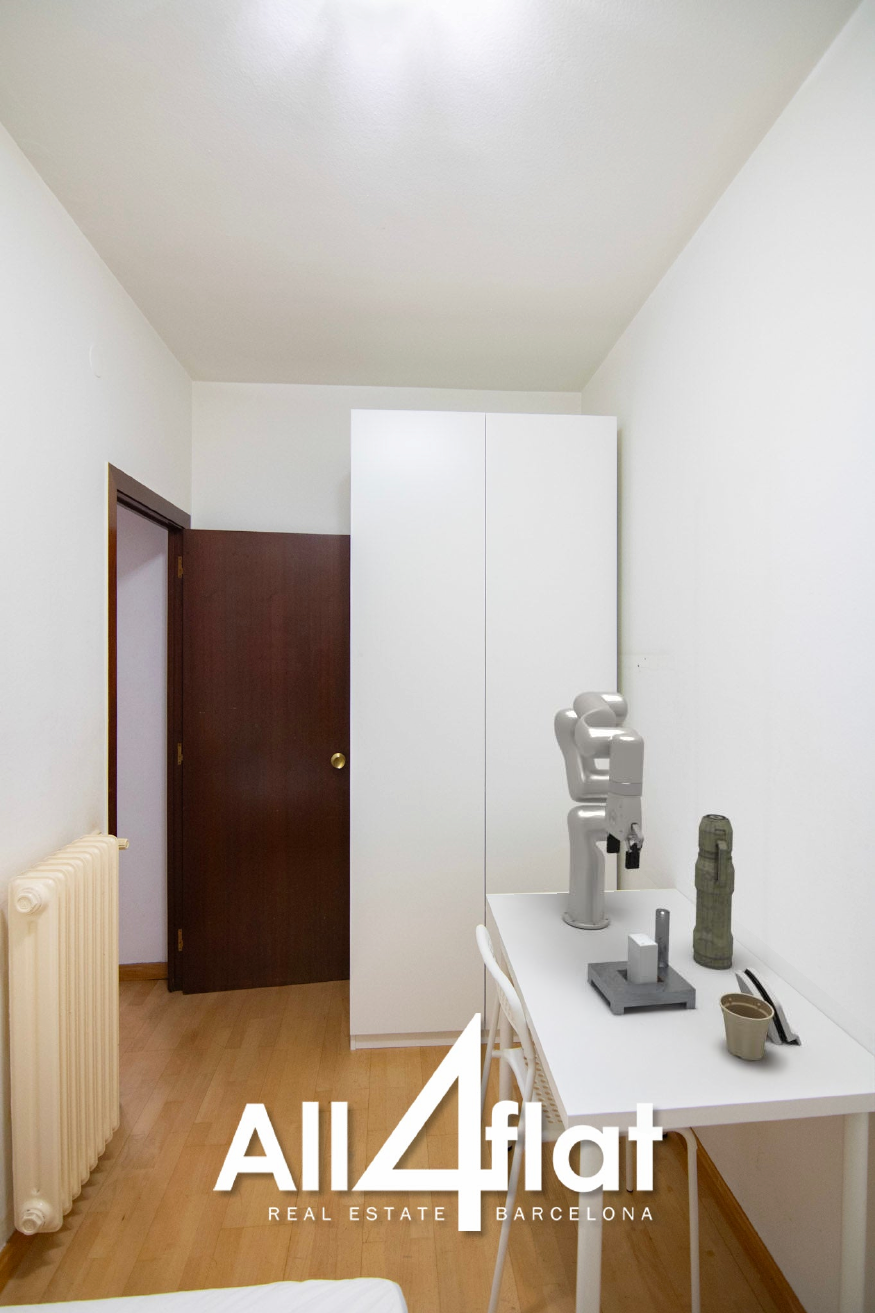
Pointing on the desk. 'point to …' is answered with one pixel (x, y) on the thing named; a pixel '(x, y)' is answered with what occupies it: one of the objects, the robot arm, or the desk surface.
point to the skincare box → (641, 959)
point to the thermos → (714, 893)
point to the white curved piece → (759, 988)
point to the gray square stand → (663, 992)
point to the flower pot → (745, 1024)
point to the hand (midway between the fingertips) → (622, 860)
